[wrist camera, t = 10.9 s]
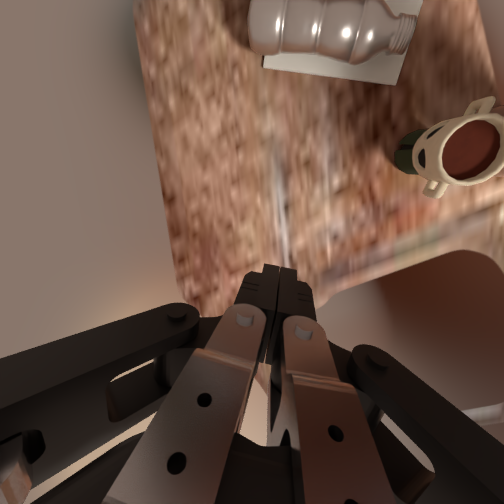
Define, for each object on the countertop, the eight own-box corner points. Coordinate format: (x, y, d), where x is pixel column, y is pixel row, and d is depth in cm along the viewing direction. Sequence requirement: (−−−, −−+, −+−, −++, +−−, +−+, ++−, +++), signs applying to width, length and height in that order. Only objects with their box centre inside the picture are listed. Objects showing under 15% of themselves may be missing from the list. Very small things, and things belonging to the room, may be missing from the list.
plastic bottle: (254, -12, 32) (413, 1, 30) (250, 55, 36) (389, 69, 34) (245, -26, 27) (434, -11, 25) (241, 54, 31) (403, 70, 29)
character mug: (410, 106, 35) (473, 80, 23) (459, 119, 34) (548, 100, 23) (376, 182, 39) (414, 193, 27) (419, 194, 39) (477, 211, 27)
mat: (424, -8, 30) (426, -10, 30) (394, 85, 34) (396, 84, 34) (276, -23, 32) (275, -25, 31) (263, 68, 36) (263, 67, 35)
